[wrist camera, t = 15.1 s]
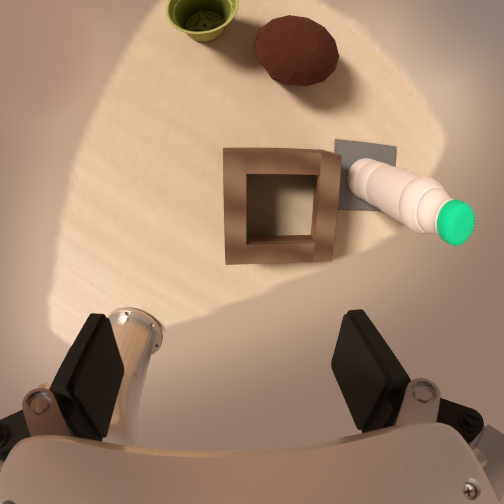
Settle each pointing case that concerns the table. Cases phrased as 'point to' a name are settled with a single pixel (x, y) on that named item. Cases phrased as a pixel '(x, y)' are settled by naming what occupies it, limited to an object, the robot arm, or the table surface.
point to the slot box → (280, 247)
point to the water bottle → (412, 200)
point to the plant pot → (201, 17)
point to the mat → (350, 155)
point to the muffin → (296, 50)
